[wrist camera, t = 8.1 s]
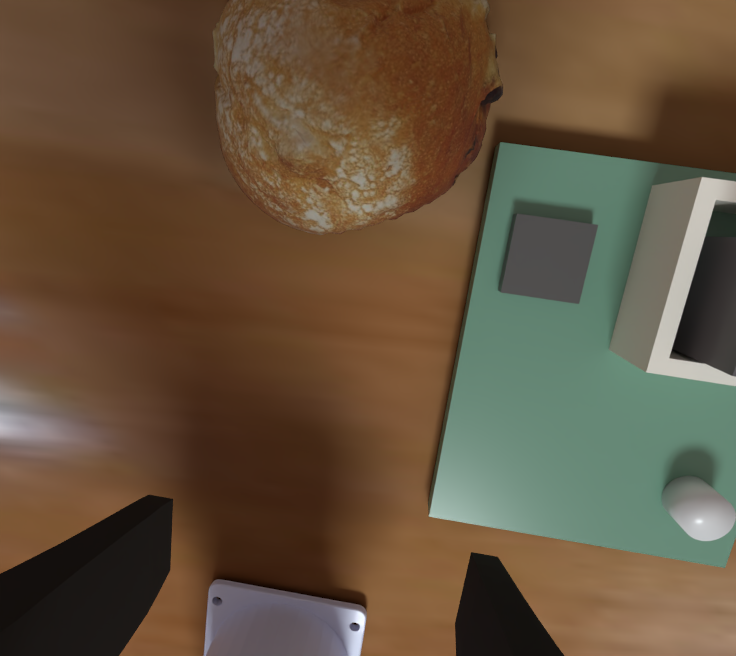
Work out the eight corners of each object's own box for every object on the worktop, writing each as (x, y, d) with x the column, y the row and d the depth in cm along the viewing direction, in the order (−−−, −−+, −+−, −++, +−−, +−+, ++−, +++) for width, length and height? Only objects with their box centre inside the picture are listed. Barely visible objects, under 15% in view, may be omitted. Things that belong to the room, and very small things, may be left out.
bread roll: (285, 19, 21) (122, -66, 15) (512, -75, 16) (420, -273, 10) (311, 237, 23) (177, 249, 17) (521, 215, 18) (450, 222, 12)
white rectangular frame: (746, 370, 18) (810, 397, 16) (608, 349, 19) (646, 372, 16) (802, 205, 17) (883, 201, 14) (652, 185, 17) (702, 176, 14)
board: (710, 552, 21) (749, 594, 19) (428, 503, 22) (430, 538, 19) (836, 192, 18) (904, 186, 15) (495, 146, 18) (509, 134, 16)
